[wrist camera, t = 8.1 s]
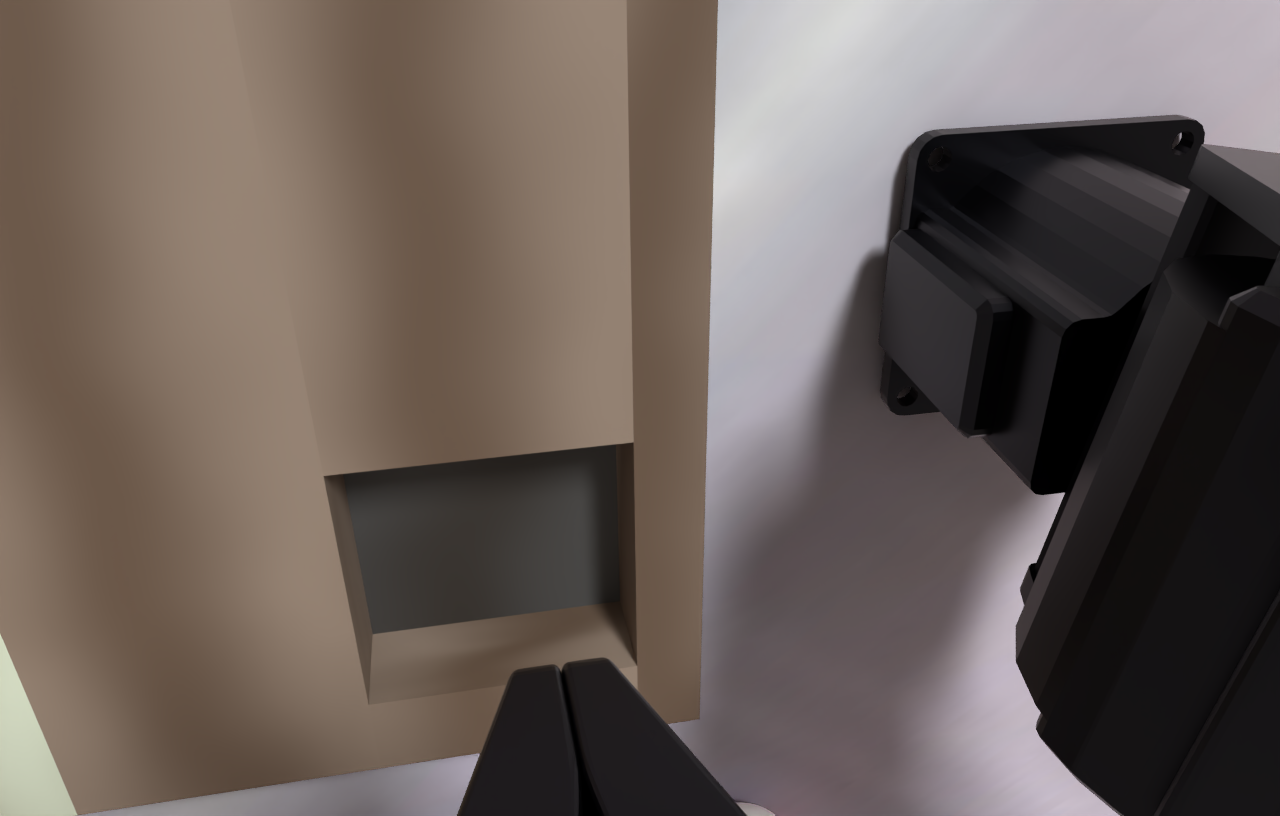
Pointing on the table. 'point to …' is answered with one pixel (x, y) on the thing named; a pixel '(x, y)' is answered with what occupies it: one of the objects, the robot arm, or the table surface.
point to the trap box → (341, 378)
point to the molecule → (754, 810)
